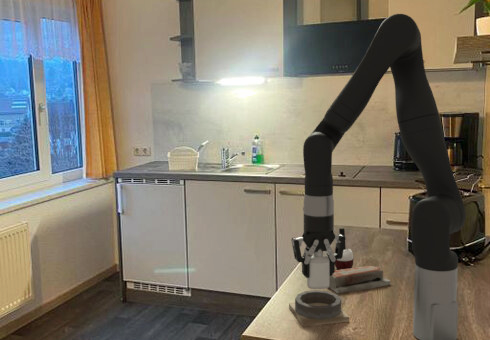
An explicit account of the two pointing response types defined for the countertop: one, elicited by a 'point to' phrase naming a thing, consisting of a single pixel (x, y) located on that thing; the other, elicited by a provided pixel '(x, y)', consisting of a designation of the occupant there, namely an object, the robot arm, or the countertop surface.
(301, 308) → the collar board
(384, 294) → the countertop surface
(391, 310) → the countertop surface
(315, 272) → the eye dropper bottle
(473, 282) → the countertop surface
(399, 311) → the countertop surface
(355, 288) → the packaged product
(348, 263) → the red-capped knob on stick
